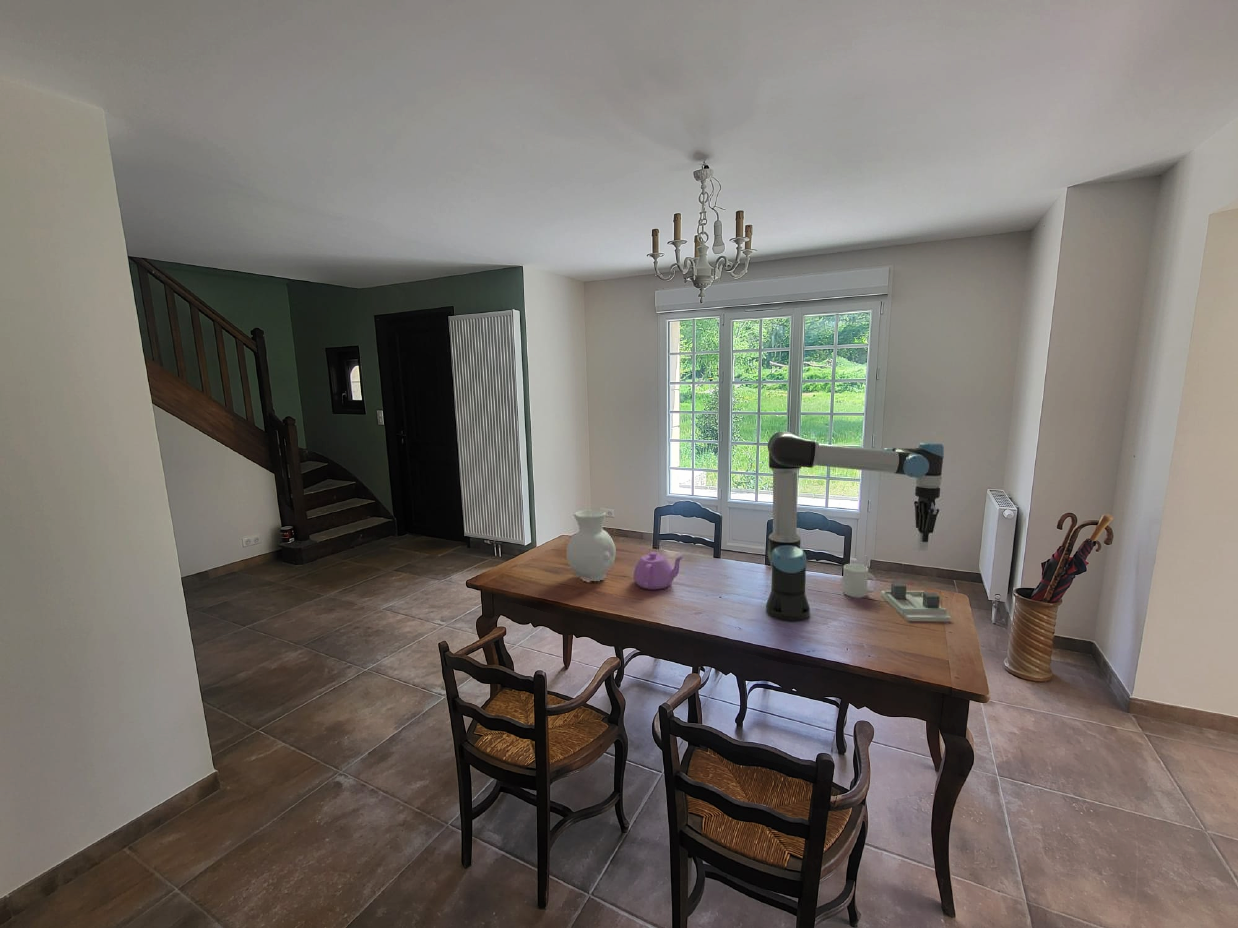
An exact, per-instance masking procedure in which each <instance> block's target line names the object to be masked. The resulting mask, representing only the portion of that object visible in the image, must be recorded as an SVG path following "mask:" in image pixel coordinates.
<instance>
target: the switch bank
mask: <svg viewBox="0 0 1238 928" xmlns="http://www.w3.org/2000/svg"><path fill="white" fill-rule="evenodd" d="M923 593H925V591H924V590H906V599H895V598H894V597H893V596H892V595H891V590H888V589H887V590H881V591H880V595H881V596H882V598H884V599H885V601H886V602H888V603H889V604H890V605H891V606H892V607H893V608H894V609H895V611H897V612H898V613H899V614H900V615H901V616H902V617H903V618H904V619H905V620H906V621H907V622H945V623H946V622H952V617H951V616H950V615H949V614H948V613H947V608H945V607H942V606H940V605H939V608H925V607H924V606H923Z"/></svg>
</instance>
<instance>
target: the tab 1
mask: <svg viewBox="0 0 1238 928" xmlns="http://www.w3.org/2000/svg"><path fill="white" fill-rule="evenodd" d="M890 591H891V595H892V596H893V597H894V598H895V599H906V591H907V585H906V584H905V583H903V582H891V585H890Z"/></svg>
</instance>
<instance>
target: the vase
mask: <svg viewBox="0 0 1238 928" xmlns="http://www.w3.org/2000/svg"><path fill="white" fill-rule="evenodd" d="M606 515H607V512H606V511H605V510H602V509H601V510H600V509H584V510H583V509H582V510H579V511H575V512H574V513H573V516H574V518H575V520H576V522H577V525H578V529H579V531H577V532H575V533H574V534H573V535H572V537H570V540H569V541H568V544H567V547H566V548H567V549H566V560H567V563H568V565H569V567H570V569H571V570H572V572H573V573H574V574H576V575H578V576H579V578H580V577H581V578H583V579H585V580H589V581H594V582H596V581H598V580H601V579H604V578H605V579H606V577H607V576H606V574H607V572H608V571H610V570H611V569H612V567H613V565H614V563H615V560H616V554H617V552H616V551H617V549H616V544H615V543H614V540H613V538H612V537H611V535H610V534H609V533H608V532H607V531H606V530H604V528H603V527H604V522H605V517H606ZM605 579H604V580H605ZM598 582H599V581H598Z"/></svg>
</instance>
